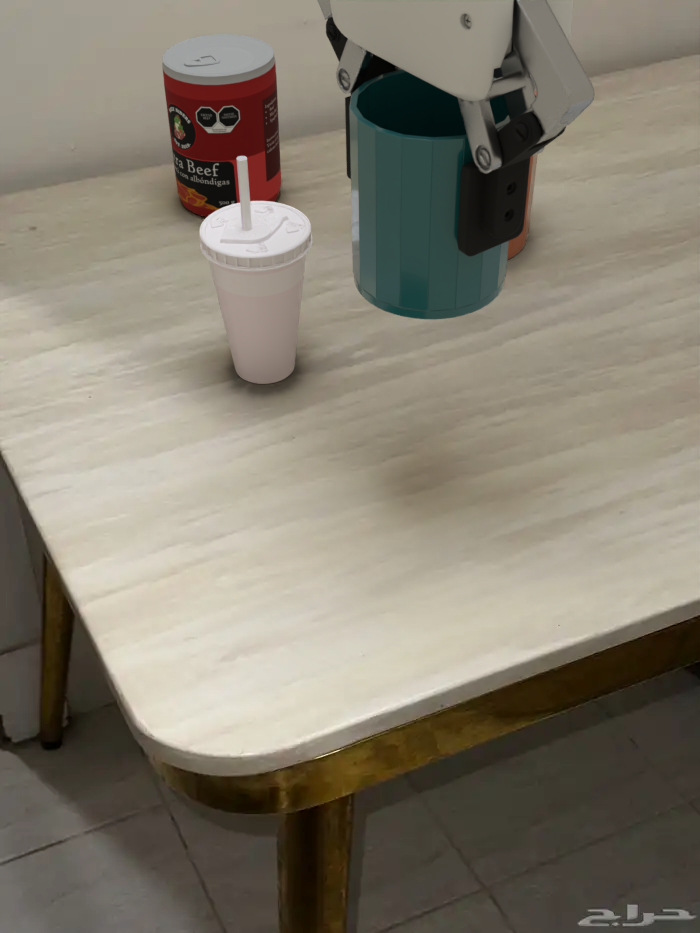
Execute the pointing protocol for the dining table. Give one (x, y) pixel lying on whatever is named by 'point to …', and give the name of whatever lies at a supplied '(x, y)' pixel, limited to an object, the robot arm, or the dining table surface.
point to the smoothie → (258, 279)
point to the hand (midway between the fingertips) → (431, 204)
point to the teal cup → (415, 201)
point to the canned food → (222, 119)
